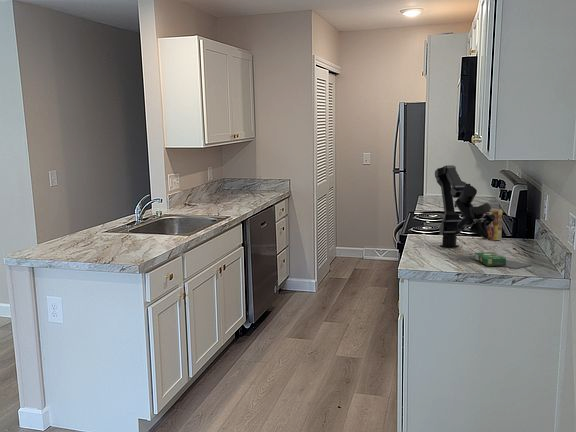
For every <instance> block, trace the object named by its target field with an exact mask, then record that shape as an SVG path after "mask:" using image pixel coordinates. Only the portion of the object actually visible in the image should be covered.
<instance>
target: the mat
mask: <svg viewBox="0 0 576 432" xmlns="http://www.w3.org/2000/svg"><path fill="white" fill-rule="evenodd" d="M498 266H499V267H503V268H507V269H512V270H518V269H522V268H527V267H532V266H533V265H532V264H530V263H526V262H525V263H524V262H520V261H517V260H510V259H506V265H498Z"/></svg>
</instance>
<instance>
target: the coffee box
mask: <svg viewBox="0 0 576 432" xmlns="http://www.w3.org/2000/svg"><path fill="white" fill-rule="evenodd" d="M474 259H475V260H476V261H478V262H479V263H481V264H484V265H485V266H488V267H489V266H491V267H492V266H499V265H506V260H507V258H506V257H504V256H502V255H500V254H498V253H497V252H496V253H495V252H492V251H491V252H490V251H488V252H487V251H486V252H474Z"/></svg>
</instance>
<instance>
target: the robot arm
mask: <svg viewBox="0 0 576 432" xmlns="http://www.w3.org/2000/svg"><path fill="white" fill-rule="evenodd" d="M456 168H457V167H456V165H454V164H452V165H443V166H442V167H438V168H436V169H435V170H434V178H435V179H436V183H437V184H438V186H440V189H441V191H440V192H441V196H442V204H443V210H444V211H443V213H444V215H443V217H442V219H441V224H440V226H439V228H438V229H439V234H441V235H442V244H439V246H440V247H443V248H449V249H453V248H458V247H460V245H459V244H457V235H461V231H464V230H465V227H468V226H469V229H468V231H470V232H473V233H475V234H476V235H479V236H481V238H482V237H484V238H485V239H484V240H486V239H488V238H489V236H488V232H487V229H486V227H487V226H489V225H490V224H491V223H492V222H493V221H494V220H495V219H496V218H495V216H494V215H493V214H488V215H485V216H484V217H483V218H482V216H483V214H484V213H486V212H490V210H491V209H492V206H491V205H490V204H489V203H488V202H486V203H483V204H481V205H479V206H474V205H473V204H472V203H473V201H474V199H475V197H476V196H477V193H478V190H477V189H476V188H475V187H474V186H473V185H471V183H467V182H465V181H463V180H462V178H461V177H460V175H459V174H458V172H457V169H456ZM453 198H454V199H455V198H456V200H455V201H454V199H453ZM455 208H457V209H458V211H459V212H460V213H461V215H459V213H457V212H456V211H455ZM460 217H461V218H462V219H460Z"/></svg>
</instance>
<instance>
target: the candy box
mask: <svg viewBox="0 0 576 432" xmlns="http://www.w3.org/2000/svg"><path fill="white" fill-rule="evenodd" d="M488 214H493V215H494V216H495V218H496V219H495V220H494V221H493V222H492V223H491V224H490V225H489V226H487V227H486V229H487V232H488V236H489V238H488V239H491V240H490V241H494V240H499V241H502V234H503V233H502V232H503V231H502V230H503V229H502V228H503V227H502V226H503V209H493V208H491V210H490V212H486V213H484V214H483V216H482V217H481V219H482V218H483V217H484V216H485V215H488ZM481 238H484V237H482V236H481Z"/></svg>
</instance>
